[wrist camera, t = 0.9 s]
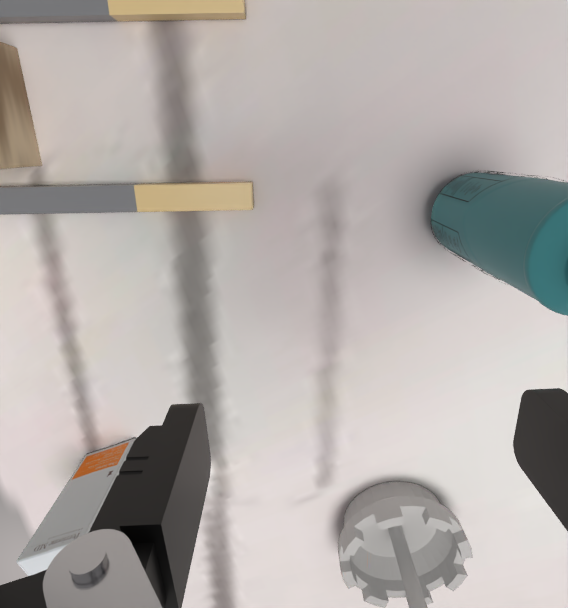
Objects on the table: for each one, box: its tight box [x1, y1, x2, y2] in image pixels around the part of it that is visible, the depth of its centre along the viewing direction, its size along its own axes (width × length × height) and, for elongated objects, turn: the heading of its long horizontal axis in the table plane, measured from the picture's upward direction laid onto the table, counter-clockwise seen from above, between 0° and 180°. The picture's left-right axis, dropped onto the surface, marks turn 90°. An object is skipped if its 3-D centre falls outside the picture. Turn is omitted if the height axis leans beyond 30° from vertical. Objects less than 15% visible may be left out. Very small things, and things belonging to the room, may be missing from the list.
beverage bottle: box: [431, 171, 568, 315], centre depth 25 cm, size 6×7×20 cm
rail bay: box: [0, 0, 254, 214], centre depth 30 cm, size 15×28×2 cm, turn 91°
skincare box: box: [17, 438, 136, 576], centre depth 37 cm, size 6×4×12 cm
